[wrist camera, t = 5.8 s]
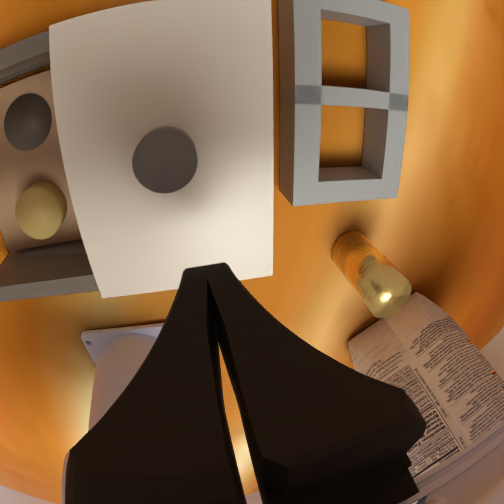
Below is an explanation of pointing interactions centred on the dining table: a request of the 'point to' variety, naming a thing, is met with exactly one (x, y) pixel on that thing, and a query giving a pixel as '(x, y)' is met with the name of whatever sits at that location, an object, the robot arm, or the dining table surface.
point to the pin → (371, 274)
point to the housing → (35, 185)
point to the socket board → (342, 101)
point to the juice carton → (433, 377)
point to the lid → (168, 138)
